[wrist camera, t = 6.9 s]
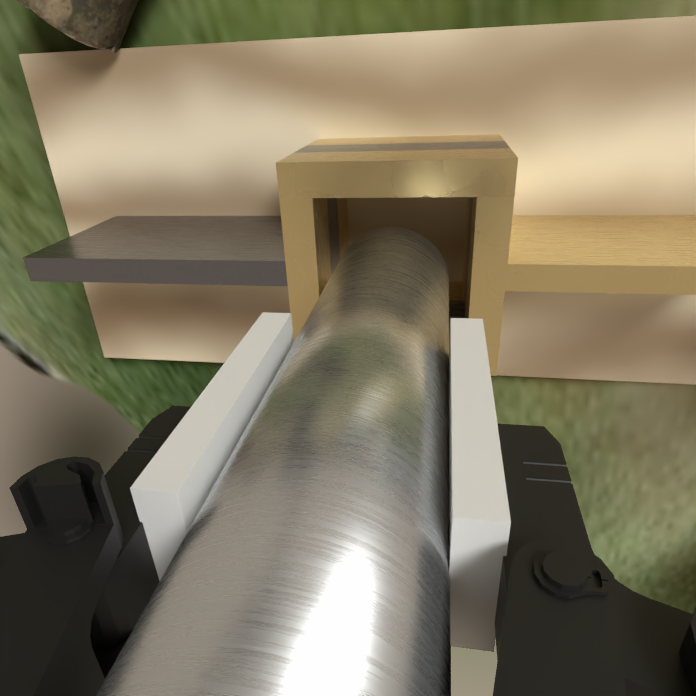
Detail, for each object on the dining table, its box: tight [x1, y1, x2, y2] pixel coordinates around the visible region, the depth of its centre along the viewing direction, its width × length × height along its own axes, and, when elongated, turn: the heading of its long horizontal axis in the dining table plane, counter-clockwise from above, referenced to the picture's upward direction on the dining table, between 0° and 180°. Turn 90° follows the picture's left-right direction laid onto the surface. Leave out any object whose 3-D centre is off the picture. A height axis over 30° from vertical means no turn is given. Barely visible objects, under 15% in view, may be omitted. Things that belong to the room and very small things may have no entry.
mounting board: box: [19, 16, 696, 384], centre depth 26 cm, size 16×35×1 cm, turn 92°
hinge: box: [23, 134, 696, 376], centre depth 23 cm, size 8×30×7 cm, turn 92°
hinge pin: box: [96, 227, 451, 696], centre depth 11 cm, size 5×5×18 cm
